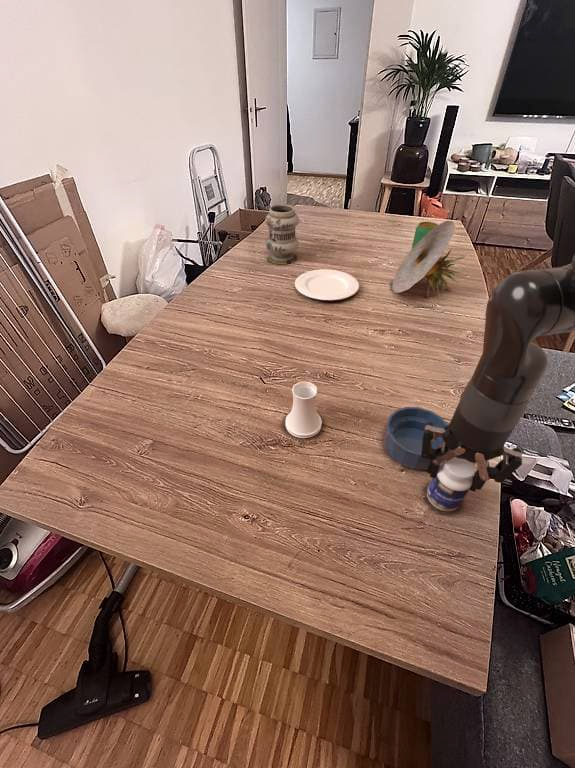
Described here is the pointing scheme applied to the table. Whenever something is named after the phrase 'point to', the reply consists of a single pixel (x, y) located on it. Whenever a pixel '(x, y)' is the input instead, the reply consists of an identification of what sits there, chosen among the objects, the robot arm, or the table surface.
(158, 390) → the table surface
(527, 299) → the robot arm
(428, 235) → the potted plant
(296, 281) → the plate
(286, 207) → the apothecary jar
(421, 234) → the beverage can
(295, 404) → the vase
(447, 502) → the pill bottle
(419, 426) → the bowl
